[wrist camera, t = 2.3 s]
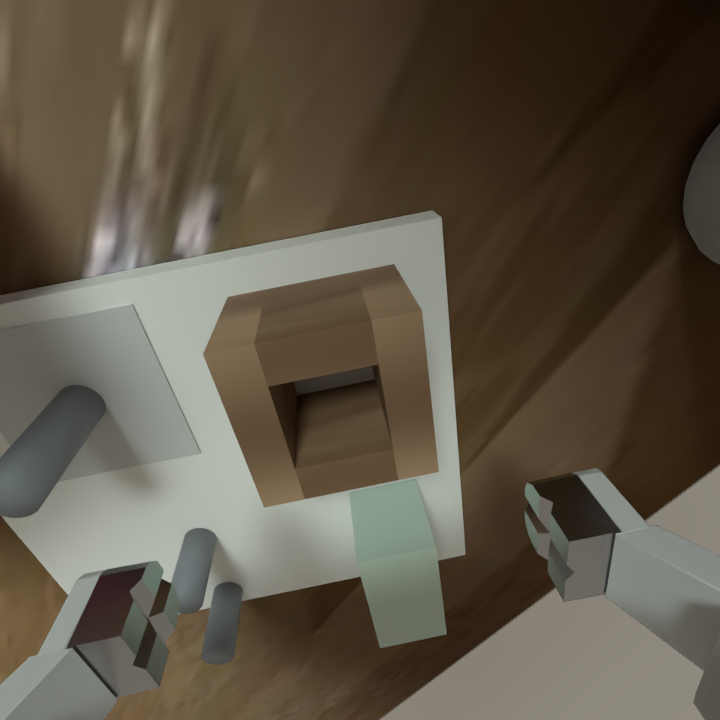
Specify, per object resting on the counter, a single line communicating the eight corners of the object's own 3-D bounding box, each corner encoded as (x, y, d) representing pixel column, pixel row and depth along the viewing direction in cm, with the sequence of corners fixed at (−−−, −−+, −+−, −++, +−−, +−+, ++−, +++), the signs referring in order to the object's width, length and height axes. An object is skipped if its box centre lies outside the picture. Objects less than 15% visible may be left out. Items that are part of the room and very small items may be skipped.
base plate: (-121, 319, 15) (-337, 421, 10) (432, 210, 15) (494, 256, 10) (107, 607, 23) (53, 741, 18) (458, 535, 23) (499, 647, 18)
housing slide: (348, 492, 19) (357, 563, 16) (415, 479, 19) (436, 546, 16) (369, 575, 22) (380, 648, 19) (427, 563, 22) (447, 634, 19)
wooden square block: (227, 296, 14) (202, 354, 11) (393, 263, 14) (421, 310, 11) (272, 428, 17) (264, 507, 14) (411, 400, 17) (438, 471, 14)
